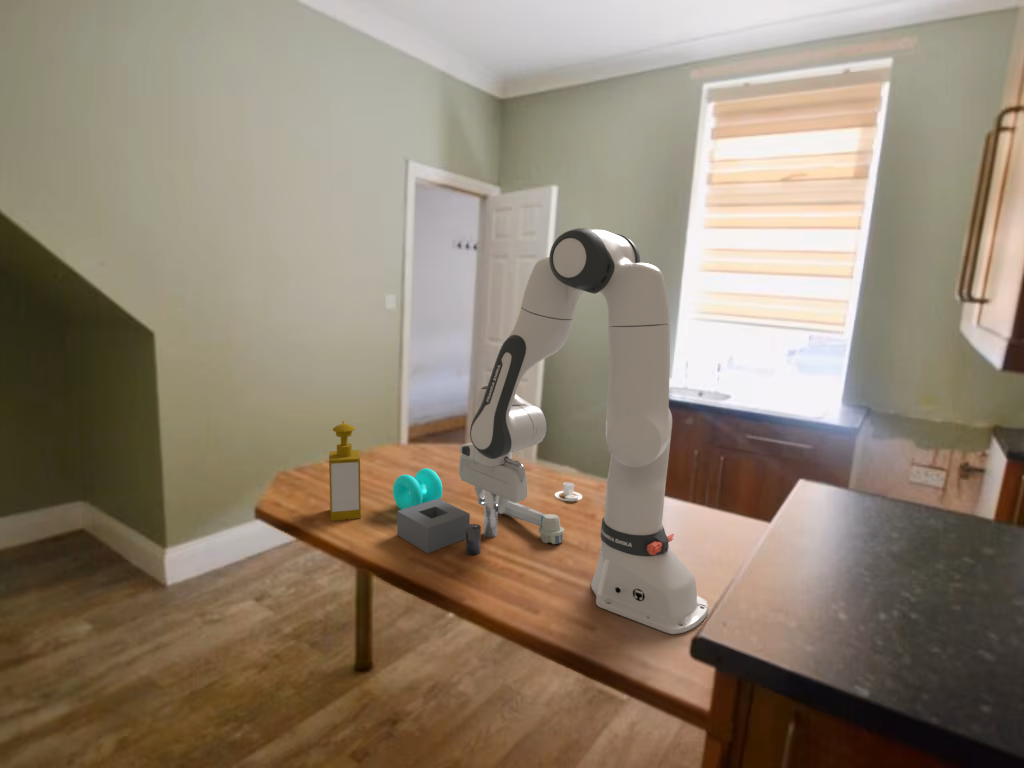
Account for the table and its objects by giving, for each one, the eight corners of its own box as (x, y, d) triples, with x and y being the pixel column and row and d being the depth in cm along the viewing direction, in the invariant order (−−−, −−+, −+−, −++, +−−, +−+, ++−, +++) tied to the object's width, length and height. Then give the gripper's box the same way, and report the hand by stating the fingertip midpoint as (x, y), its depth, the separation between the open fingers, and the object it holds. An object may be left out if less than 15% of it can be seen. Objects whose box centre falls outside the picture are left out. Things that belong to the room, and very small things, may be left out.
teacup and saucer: (578, 505, 154) (579, 491, 153) (550, 501, 156) (551, 487, 155) (584, 494, 162) (585, 481, 161) (558, 490, 164) (559, 477, 164)
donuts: (390, 508, 146) (390, 472, 145) (419, 497, 154) (420, 463, 152) (415, 519, 140) (415, 481, 138) (444, 508, 148) (445, 472, 146)
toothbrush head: (503, 492, 150) (568, 512, 130) (504, 517, 150) (569, 540, 130) (486, 496, 147) (551, 517, 127) (488, 521, 147) (552, 546, 127)
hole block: (469, 537, 131) (469, 513, 130) (427, 553, 123) (427, 528, 122) (437, 521, 139) (438, 498, 138) (397, 534, 131) (397, 511, 130)
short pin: (483, 552, 124) (483, 527, 123) (472, 557, 122) (472, 531, 121) (473, 547, 126) (474, 522, 125) (462, 551, 124) (463, 526, 123)
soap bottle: (358, 499, 151) (357, 415, 147) (360, 518, 139) (359, 427, 135) (330, 501, 149) (328, 416, 145) (330, 521, 137) (328, 428, 133)
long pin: (499, 534, 133) (501, 483, 131) (489, 538, 131) (491, 486, 129) (490, 530, 135) (492, 479, 133) (480, 534, 133) (482, 482, 131)
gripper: (534, 460, 124) (532, 518, 127) (474, 440, 139) (473, 493, 141) (515, 466, 120) (512, 526, 123) (455, 444, 134) (454, 499, 137)
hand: (491, 508), depth 132 cm, fingers open, 5 cm apart
